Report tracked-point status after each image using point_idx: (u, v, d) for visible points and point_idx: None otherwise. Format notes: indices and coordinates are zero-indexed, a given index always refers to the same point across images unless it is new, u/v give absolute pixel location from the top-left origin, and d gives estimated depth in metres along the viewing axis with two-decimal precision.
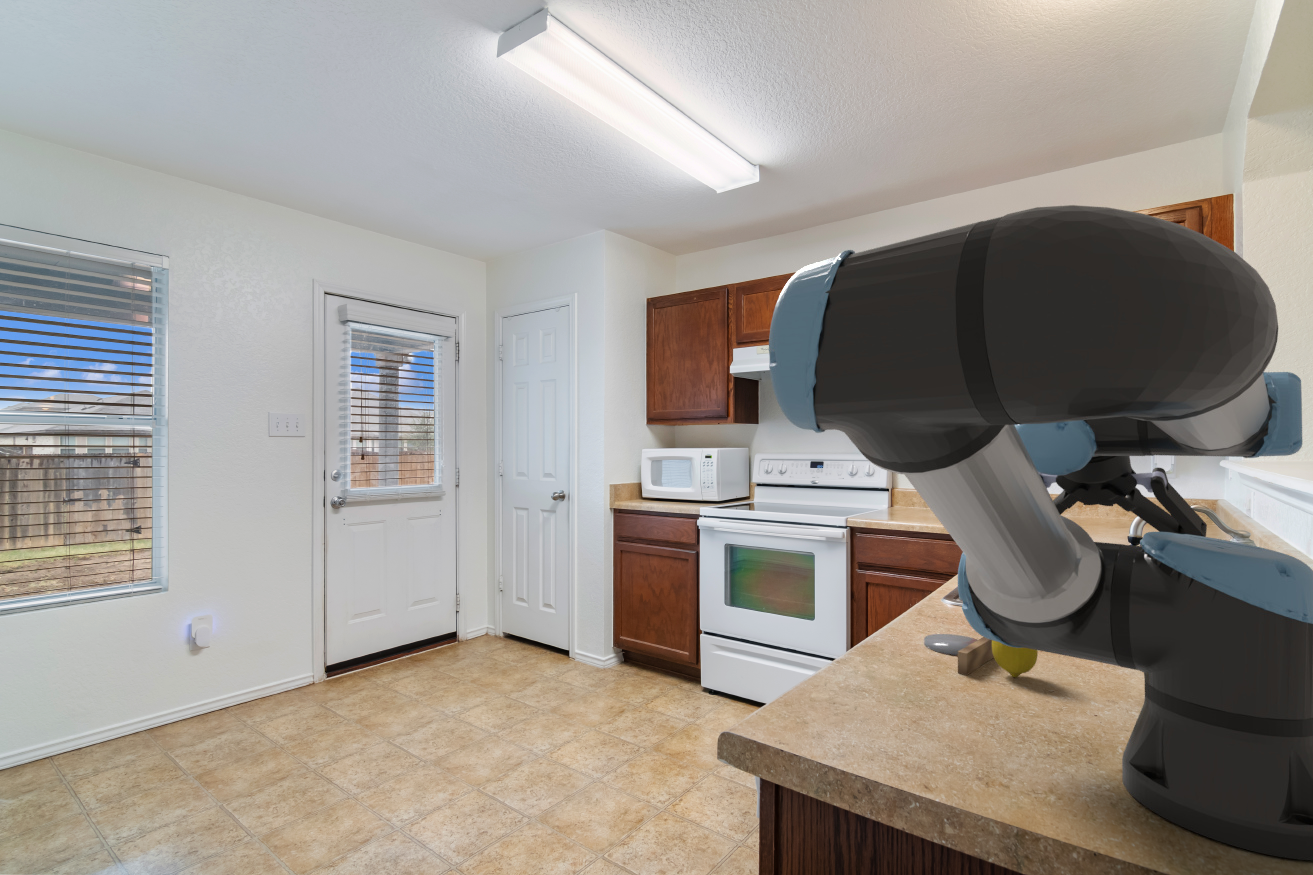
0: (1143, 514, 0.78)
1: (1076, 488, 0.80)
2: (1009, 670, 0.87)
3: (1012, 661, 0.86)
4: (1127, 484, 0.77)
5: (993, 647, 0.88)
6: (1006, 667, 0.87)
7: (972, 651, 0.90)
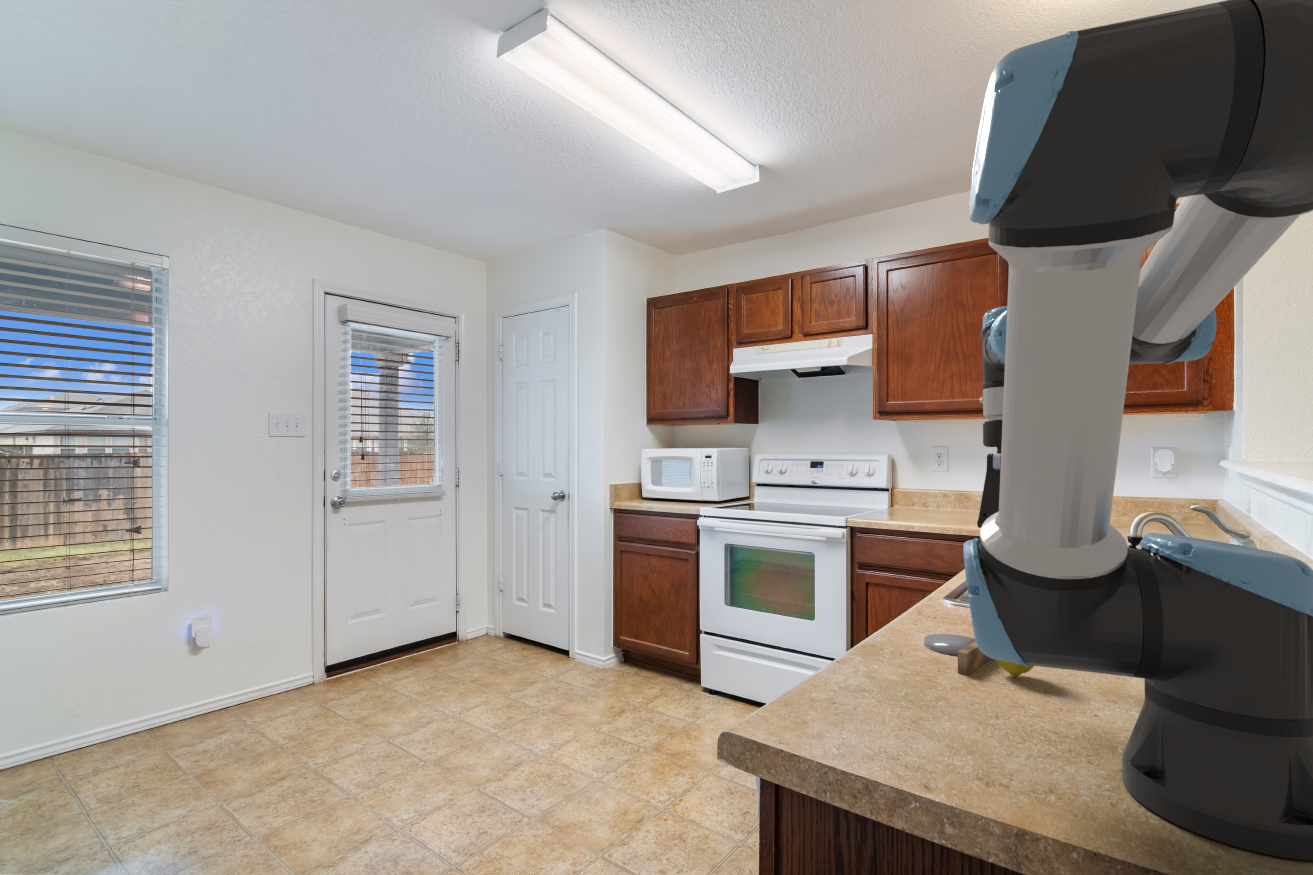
0: None
1: None
2: (1009, 670, 0.87)
3: None
4: None
5: None
6: (1006, 667, 0.87)
7: (972, 651, 0.90)
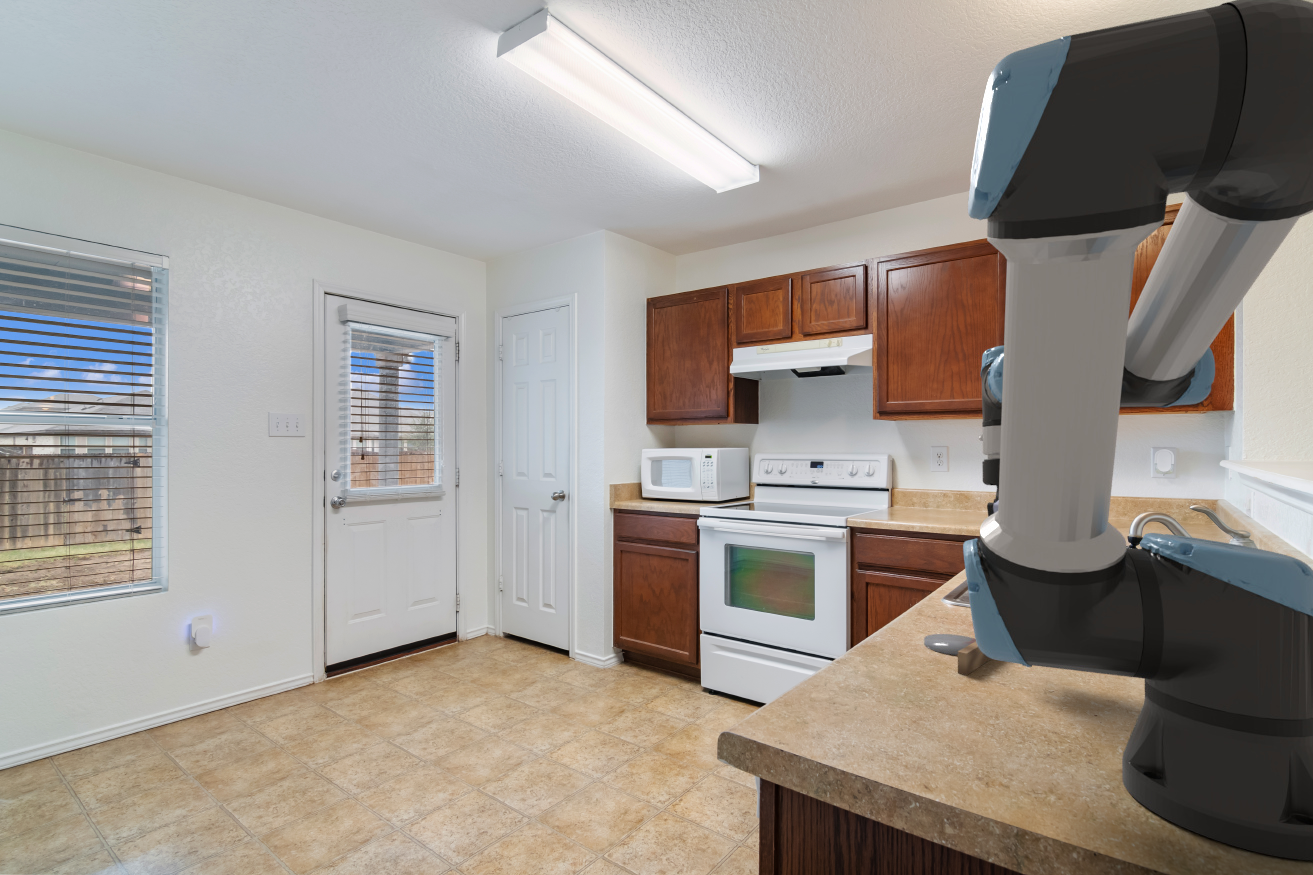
0: None
1: None
2: None
3: None
4: None
5: None
6: None
7: (972, 651, 0.90)
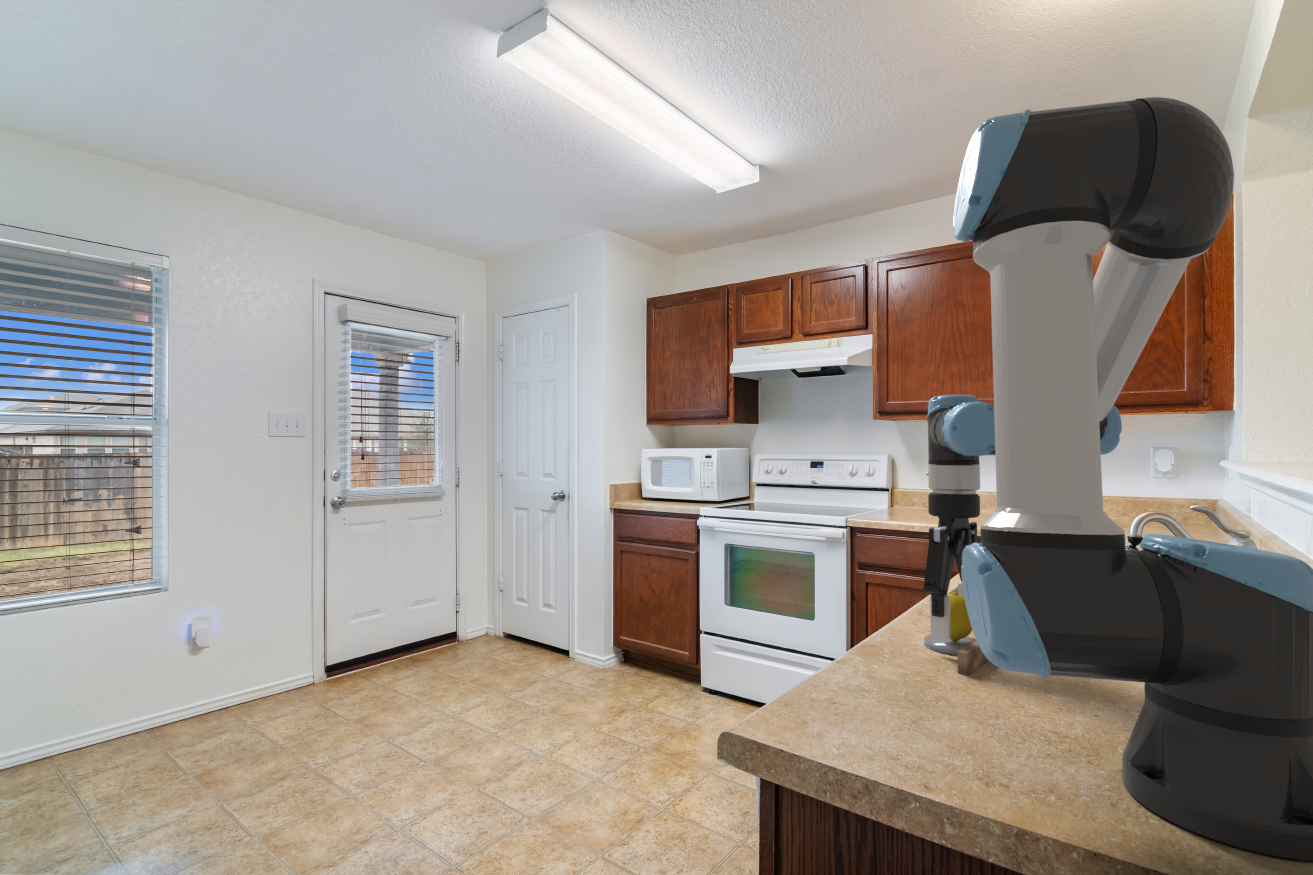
0: None
1: (959, 532, 0.99)
2: None
3: (952, 628, 0.99)
4: (968, 526, 1.03)
5: None
6: None
7: (972, 651, 0.90)
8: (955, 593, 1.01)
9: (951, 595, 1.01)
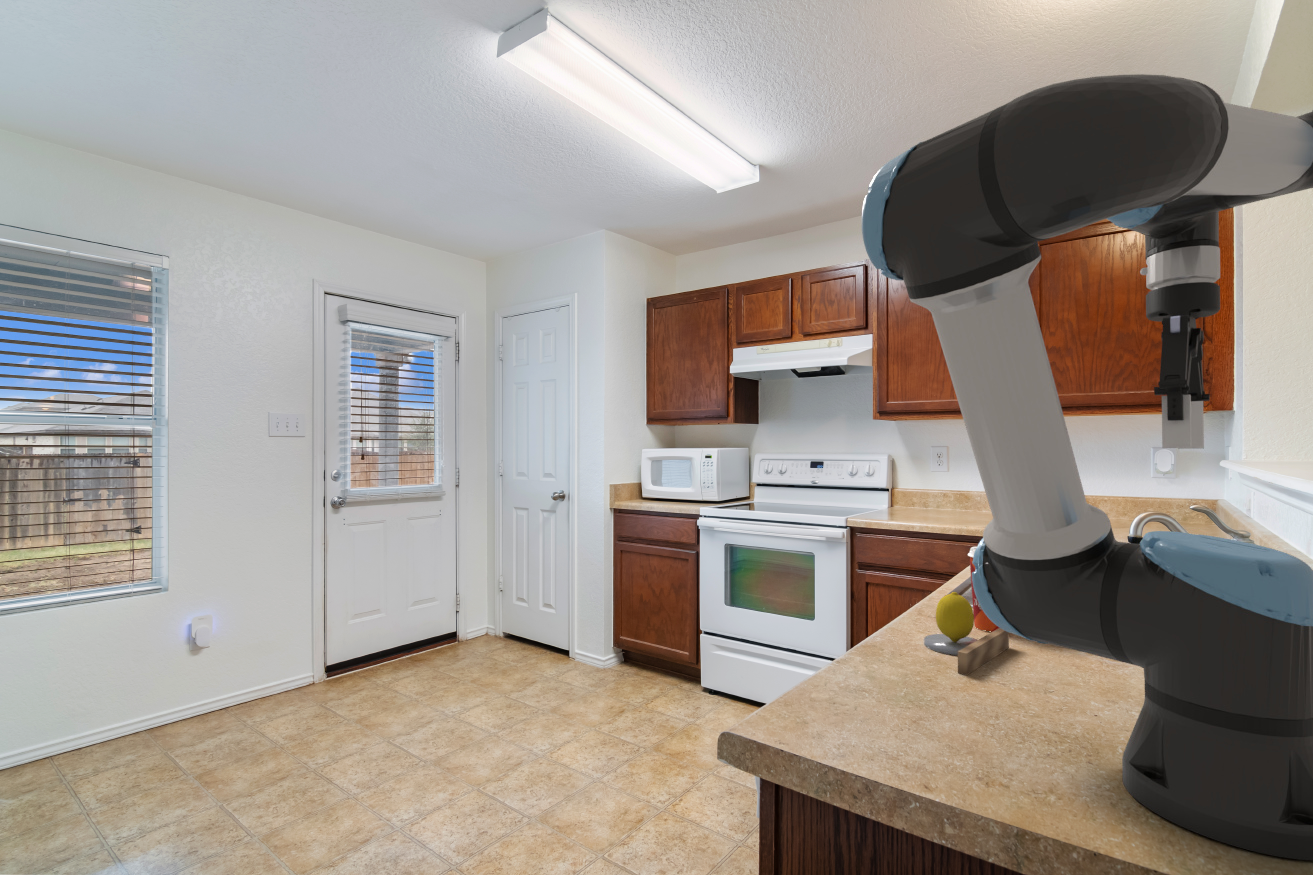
0: (1199, 366, 0.86)
1: (1196, 330, 0.81)
2: (949, 636, 1.00)
3: (951, 627, 0.99)
4: None
5: (936, 616, 1.02)
6: (946, 633, 1.00)
7: (972, 651, 0.90)
8: (954, 593, 1.01)
9: (950, 595, 1.01)
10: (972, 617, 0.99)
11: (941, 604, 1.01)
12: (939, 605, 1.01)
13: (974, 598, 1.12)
